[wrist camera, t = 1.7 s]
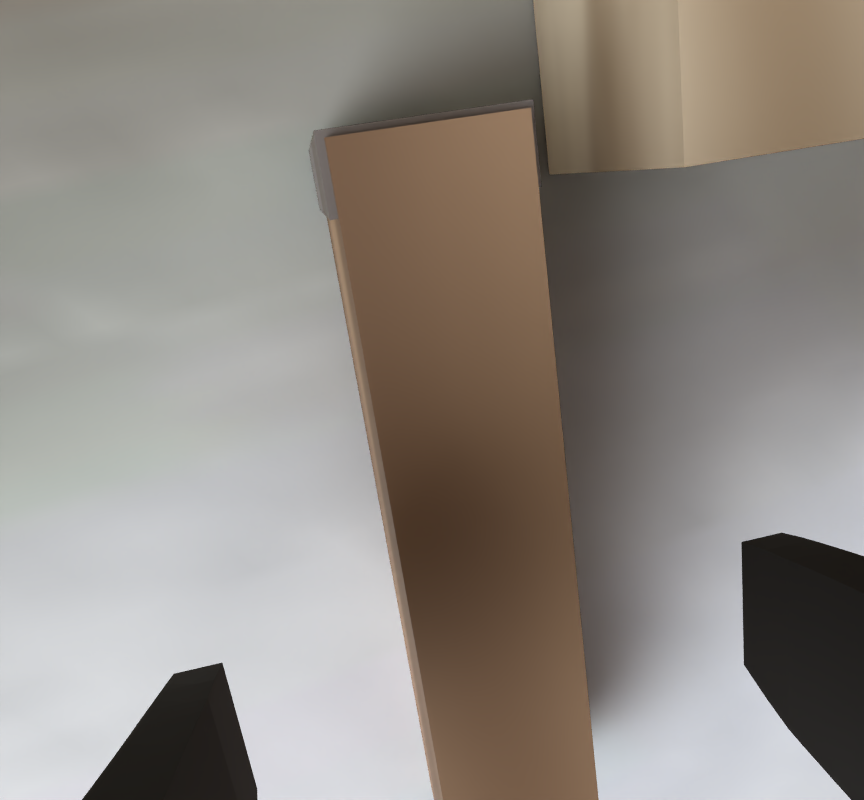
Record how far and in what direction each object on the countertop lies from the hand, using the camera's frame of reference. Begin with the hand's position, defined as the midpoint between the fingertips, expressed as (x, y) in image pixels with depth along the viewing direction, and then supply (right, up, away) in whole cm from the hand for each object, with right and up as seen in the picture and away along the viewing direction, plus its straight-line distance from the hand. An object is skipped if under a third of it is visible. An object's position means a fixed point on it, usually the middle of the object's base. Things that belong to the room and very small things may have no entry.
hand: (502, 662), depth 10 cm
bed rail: (-1, +1, +5) cm, 6 cm away
